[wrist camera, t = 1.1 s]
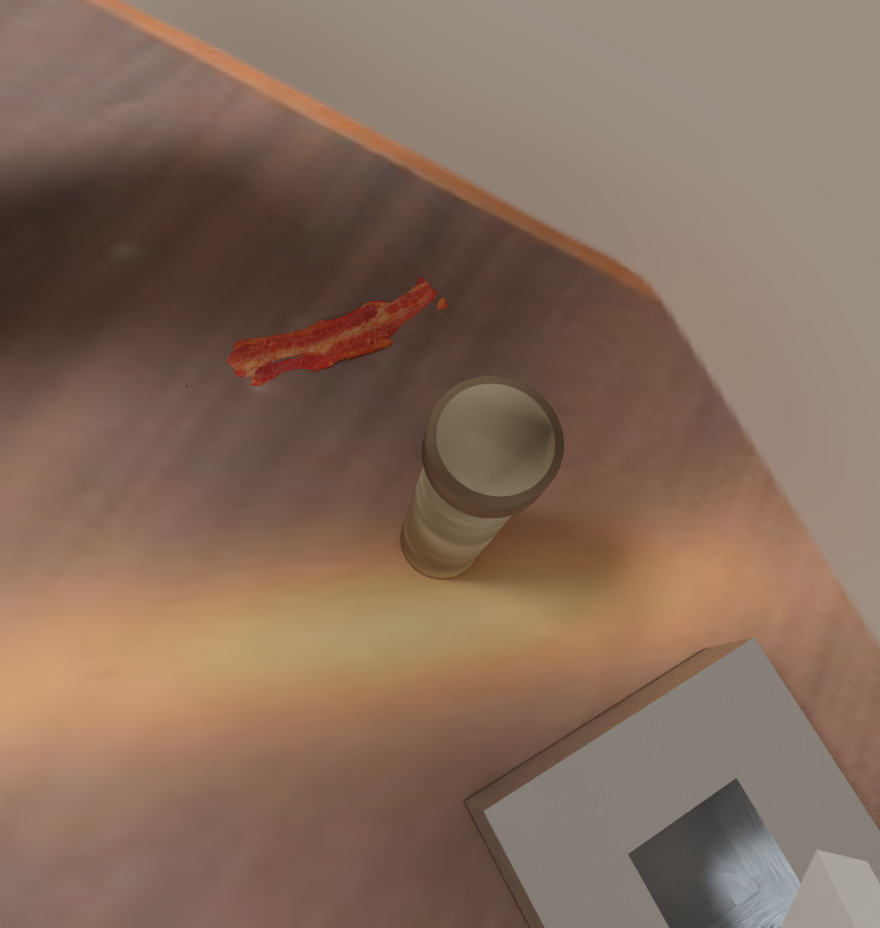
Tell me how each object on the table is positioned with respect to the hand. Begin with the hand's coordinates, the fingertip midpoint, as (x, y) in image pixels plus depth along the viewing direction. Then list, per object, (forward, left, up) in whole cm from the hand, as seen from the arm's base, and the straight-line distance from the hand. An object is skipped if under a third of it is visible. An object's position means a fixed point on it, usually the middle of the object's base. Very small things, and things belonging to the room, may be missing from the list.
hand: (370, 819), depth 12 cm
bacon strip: (-20, +8, -25) cm, 33 cm away
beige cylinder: (-7, +9, -24) cm, 27 cm away
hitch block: (+11, +11, -24) cm, 29 cm away
